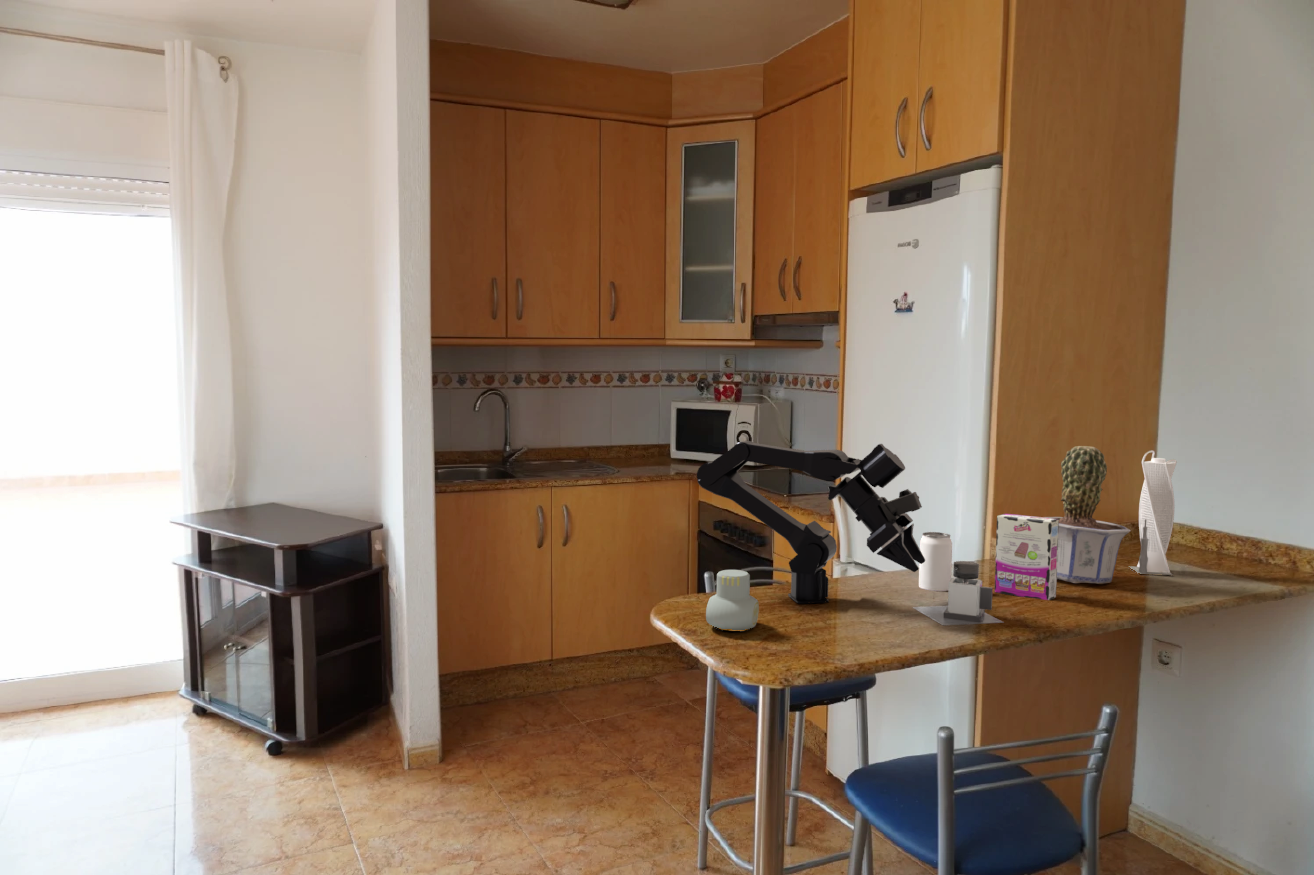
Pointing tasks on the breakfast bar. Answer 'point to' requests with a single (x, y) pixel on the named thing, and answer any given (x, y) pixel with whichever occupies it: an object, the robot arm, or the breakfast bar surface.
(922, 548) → the can
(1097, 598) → the breakfast bar surface
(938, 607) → the slate mat
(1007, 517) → the candy bar box
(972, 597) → the white square sleeve
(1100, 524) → the potted plant
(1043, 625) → the breakfast bar surface
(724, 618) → the air freshener
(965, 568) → the plunger
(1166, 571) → the skyscraper
